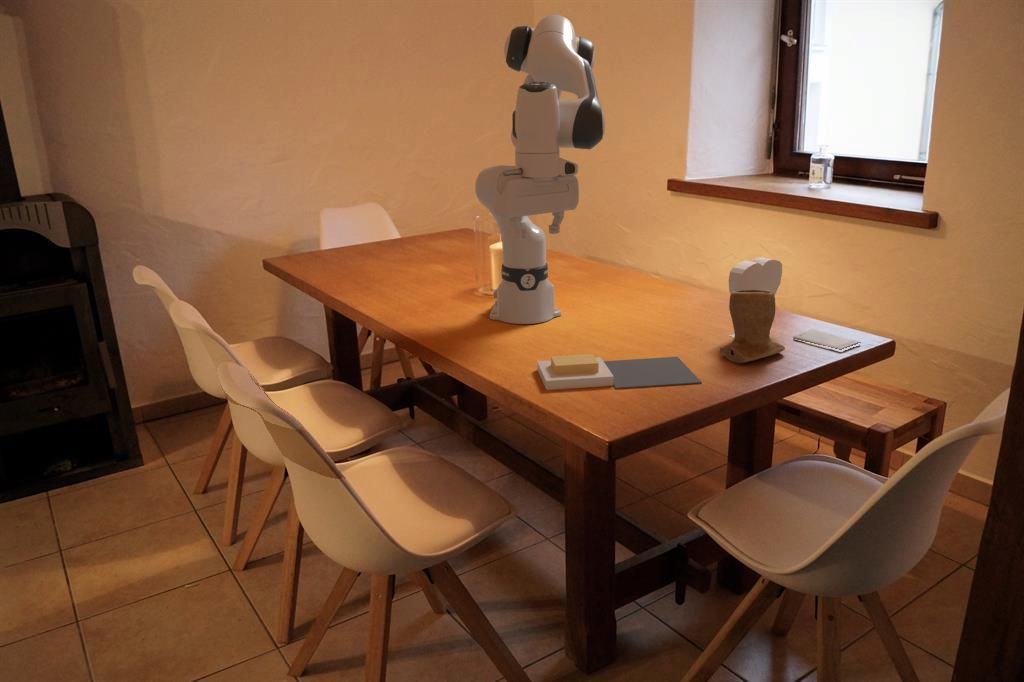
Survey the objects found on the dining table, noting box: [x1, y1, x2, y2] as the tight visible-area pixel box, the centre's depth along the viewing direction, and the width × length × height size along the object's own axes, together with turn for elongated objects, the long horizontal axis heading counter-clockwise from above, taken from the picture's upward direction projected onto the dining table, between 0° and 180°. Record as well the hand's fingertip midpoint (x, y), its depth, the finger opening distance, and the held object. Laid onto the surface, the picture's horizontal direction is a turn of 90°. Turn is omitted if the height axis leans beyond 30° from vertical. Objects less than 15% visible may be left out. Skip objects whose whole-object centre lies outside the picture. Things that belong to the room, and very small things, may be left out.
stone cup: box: [719, 289, 786, 364], centre depth 185 cm, size 15×12×15 cm
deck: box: [536, 356, 614, 391], centre depth 176 cm, size 12×14×2 cm
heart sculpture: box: [728, 256, 783, 337], centre depth 200 cm, size 16×5×18 cm, turn 127°
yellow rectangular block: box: [550, 353, 599, 375], centre depth 176 cm, size 9×6×2 cm, turn 97°
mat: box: [603, 356, 703, 390], centre depth 178 cm, size 16×18×1 cm
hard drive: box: [792, 328, 862, 350], centre depth 195 cm, size 2×8×12 cm
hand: (537, 236), depth 171 cm, fingers open, 8 cm apart
